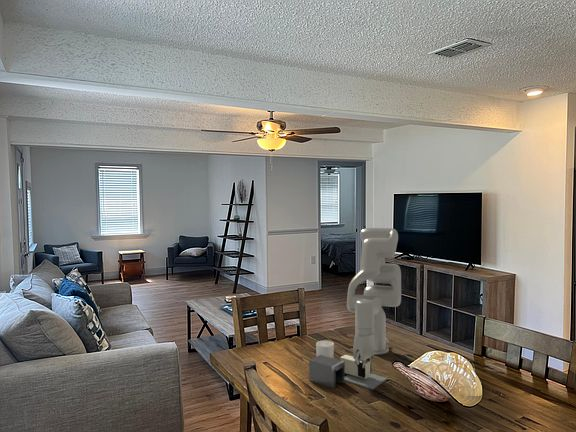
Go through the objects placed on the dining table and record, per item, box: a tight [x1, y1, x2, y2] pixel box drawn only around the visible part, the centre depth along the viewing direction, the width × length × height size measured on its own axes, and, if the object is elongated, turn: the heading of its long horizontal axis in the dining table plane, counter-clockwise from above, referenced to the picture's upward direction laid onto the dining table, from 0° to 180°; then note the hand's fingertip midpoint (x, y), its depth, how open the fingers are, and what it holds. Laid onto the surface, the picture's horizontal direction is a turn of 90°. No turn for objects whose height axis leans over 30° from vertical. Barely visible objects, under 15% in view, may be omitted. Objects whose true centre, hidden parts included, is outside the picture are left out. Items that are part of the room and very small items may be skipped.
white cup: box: [315, 340, 335, 359], centre depth 193 cm, size 8×8×10 cm
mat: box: [345, 373, 388, 391], centre depth 178 cm, size 12×14×1 cm
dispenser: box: [308, 355, 346, 390], centre depth 176 cm, size 8×12×9 cm, turn 50°
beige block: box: [339, 354, 370, 379], centre depth 180 cm, size 4×12×6 cm, turn 50°
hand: (364, 374), depth 178 cm, fingers closed on beige block, 4 cm apart
